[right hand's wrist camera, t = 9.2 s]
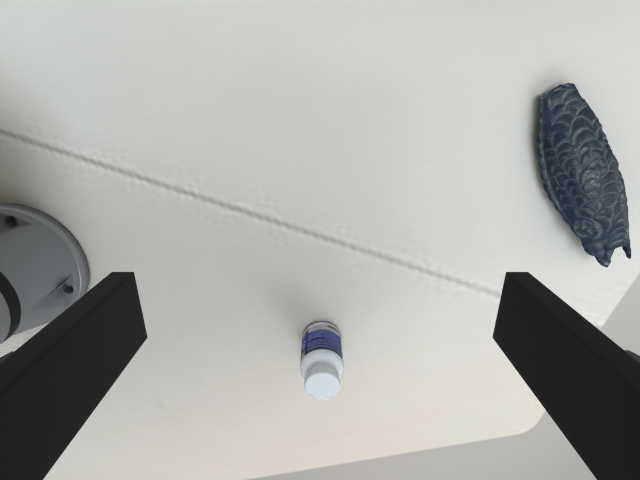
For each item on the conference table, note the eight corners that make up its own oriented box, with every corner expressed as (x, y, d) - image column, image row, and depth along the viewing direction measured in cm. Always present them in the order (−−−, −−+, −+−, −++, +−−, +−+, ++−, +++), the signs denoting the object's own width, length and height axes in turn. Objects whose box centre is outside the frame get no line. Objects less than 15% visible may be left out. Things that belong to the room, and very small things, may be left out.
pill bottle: (297, 325, 47) (293, 372, 39) (336, 317, 47) (339, 363, 39) (308, 357, 49) (305, 408, 41) (345, 349, 49) (350, 399, 40)
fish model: (565, 266, 44) (594, 285, 39) (511, 107, 38) (539, 107, 33) (619, 242, 43) (656, 258, 38) (574, 74, 37) (612, 69, 32)
